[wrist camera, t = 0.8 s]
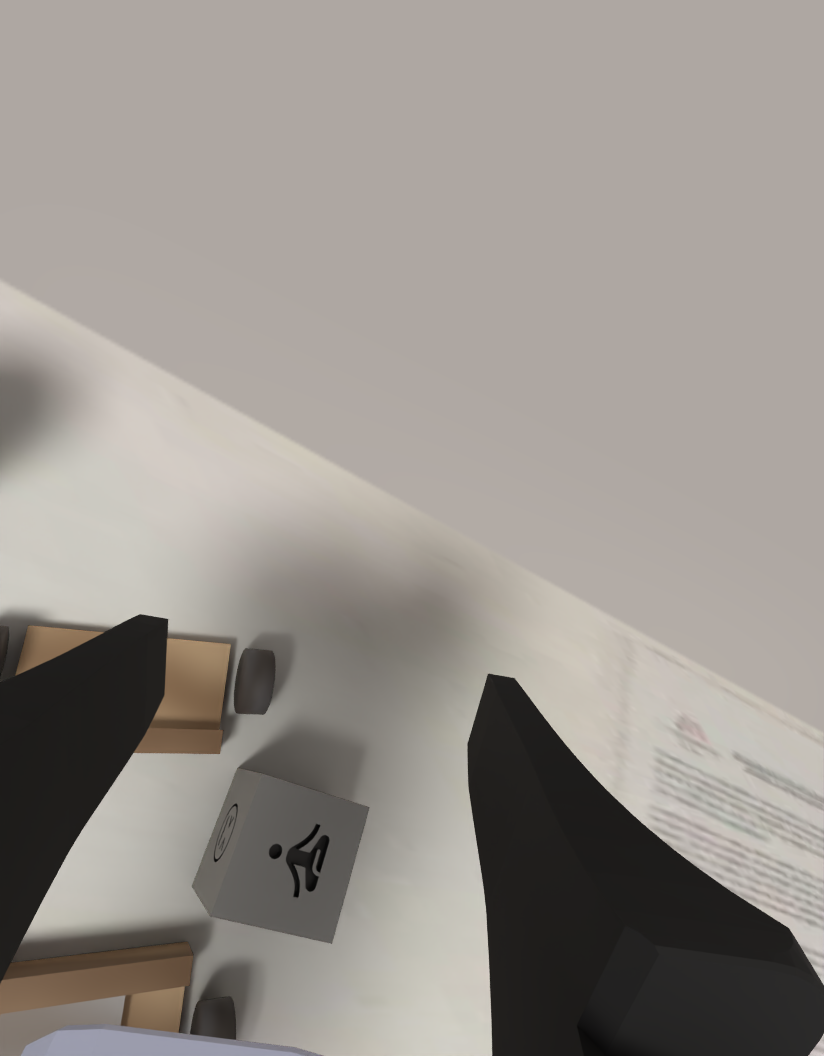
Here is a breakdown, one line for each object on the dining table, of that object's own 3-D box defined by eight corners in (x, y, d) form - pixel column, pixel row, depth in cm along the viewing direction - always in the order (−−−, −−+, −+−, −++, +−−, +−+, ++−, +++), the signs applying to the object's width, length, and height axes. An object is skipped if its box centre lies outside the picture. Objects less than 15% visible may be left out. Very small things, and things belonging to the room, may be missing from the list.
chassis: (214, 1081, 23) (228, 1123, 21) (-178, 1168, 18) (-222, 1238, 16) (263, 649, 29) (278, 641, 27) (-20, 623, 24) (-33, 611, 22)
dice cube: (295, 910, 27) (332, 943, 22) (191, 886, 25) (210, 916, 21) (330, 796, 29) (369, 807, 25) (237, 767, 27) (262, 773, 23)
